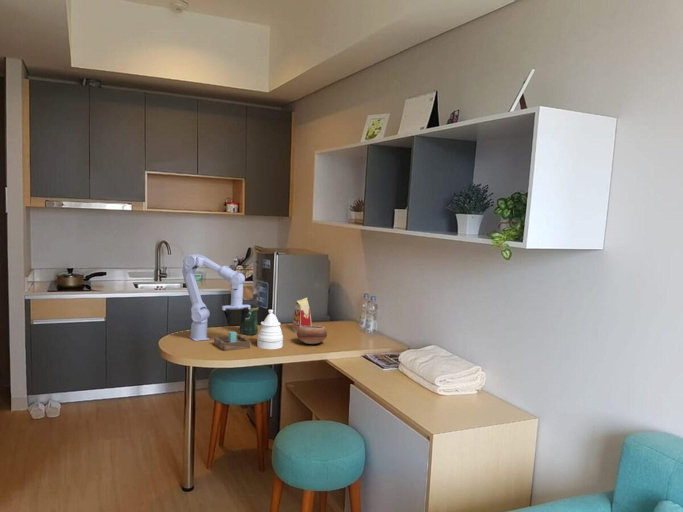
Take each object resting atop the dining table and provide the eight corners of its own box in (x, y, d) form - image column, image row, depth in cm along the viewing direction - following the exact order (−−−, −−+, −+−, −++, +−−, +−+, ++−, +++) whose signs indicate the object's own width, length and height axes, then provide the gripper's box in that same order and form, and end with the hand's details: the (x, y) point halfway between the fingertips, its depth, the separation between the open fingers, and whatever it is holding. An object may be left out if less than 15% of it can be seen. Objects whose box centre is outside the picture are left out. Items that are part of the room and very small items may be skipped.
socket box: (213, 343, 264) (214, 337, 264) (239, 341, 272) (239, 334, 271) (223, 350, 253) (224, 343, 253) (250, 348, 260) (250, 341, 260)
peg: (228, 345, 263) (228, 331, 262) (233, 345, 264) (234, 331, 264) (230, 347, 260) (230, 333, 260) (236, 346, 262) (236, 332, 261)
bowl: (322, 340, 286) (323, 321, 285) (329, 347, 271) (330, 328, 270) (294, 340, 282) (295, 321, 281) (298, 347, 267) (300, 328, 266)
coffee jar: (259, 333, 292) (261, 300, 291) (253, 336, 285) (255, 302, 283) (243, 331, 295) (245, 298, 293) (237, 334, 287) (238, 300, 286)
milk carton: (304, 329, 308) (306, 295, 306) (312, 333, 300) (314, 298, 298) (290, 330, 303) (292, 296, 301) (297, 334, 295) (299, 299, 293)
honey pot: (254, 343, 271) (256, 308, 269) (278, 342, 276) (280, 308, 274) (260, 349, 259) (262, 313, 257) (285, 348, 264) (287, 313, 262)
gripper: (226, 299, 260) (225, 326, 261) (253, 297, 268) (252, 324, 269) (221, 296, 266) (219, 323, 267) (247, 295, 274) (246, 321, 275)
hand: (235, 323), depth 269 cm, fingers open, 7 cm apart
